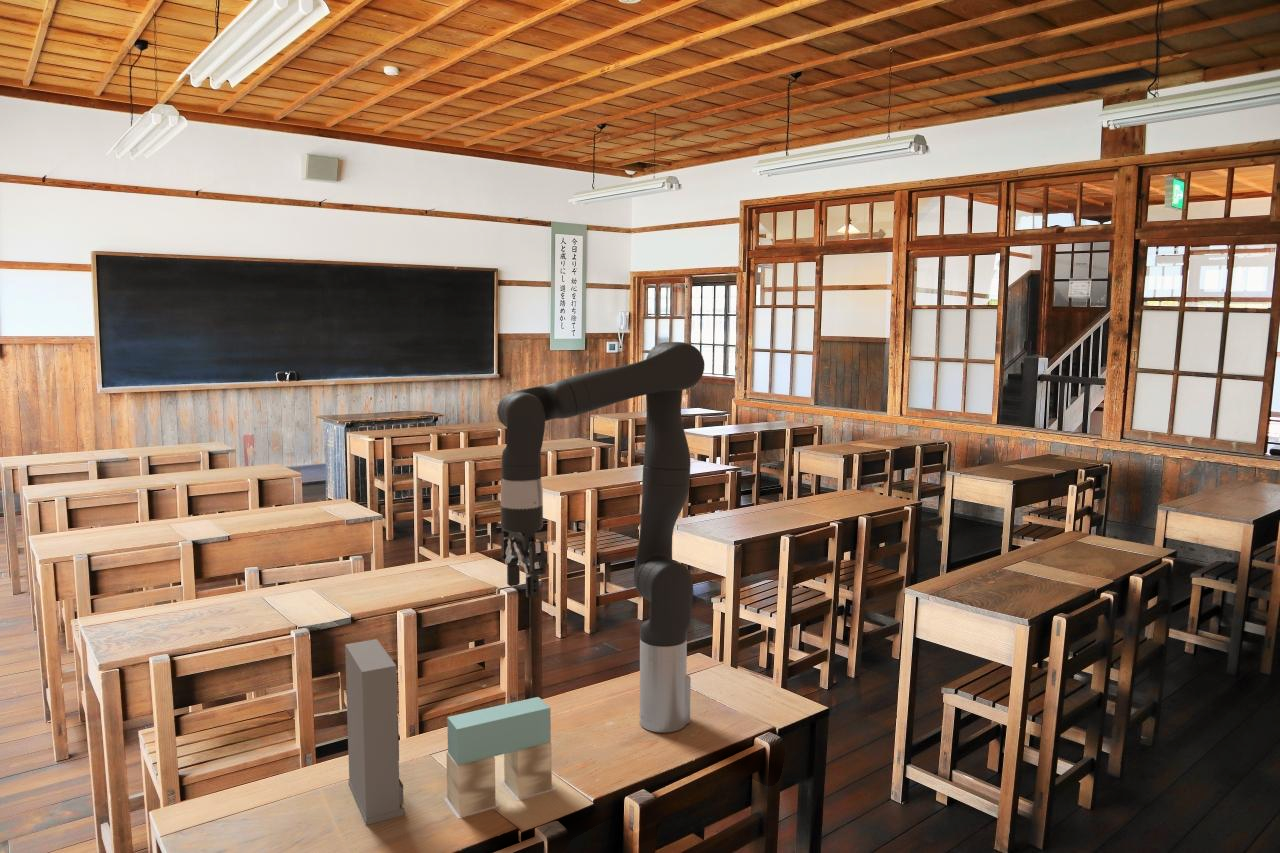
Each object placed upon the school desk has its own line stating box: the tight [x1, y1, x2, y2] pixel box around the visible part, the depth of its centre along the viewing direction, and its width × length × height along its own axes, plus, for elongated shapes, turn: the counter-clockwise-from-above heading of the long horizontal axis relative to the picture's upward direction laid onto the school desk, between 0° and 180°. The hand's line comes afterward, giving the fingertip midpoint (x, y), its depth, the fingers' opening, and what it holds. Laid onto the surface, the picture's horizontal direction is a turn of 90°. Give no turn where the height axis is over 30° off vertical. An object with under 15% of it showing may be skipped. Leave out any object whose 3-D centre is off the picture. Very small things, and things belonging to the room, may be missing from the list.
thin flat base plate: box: [443, 780, 557, 820], centre depth 139 cm, size 20×10×1 cm, turn 121°
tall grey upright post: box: [344, 638, 405, 826], centre depth 136 cm, size 14×6×25 cm, turn 30°
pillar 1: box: [446, 751, 497, 816], centre depth 136 cm, size 6×6×8 cm
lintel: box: [446, 696, 552, 766], centre depth 138 cm, size 16×5×6 cm, turn 120°
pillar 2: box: [503, 741, 553, 799], centre depth 141 cm, size 6×6×8 cm
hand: (522, 590), depth 152 cm, fingers open, 8 cm apart
